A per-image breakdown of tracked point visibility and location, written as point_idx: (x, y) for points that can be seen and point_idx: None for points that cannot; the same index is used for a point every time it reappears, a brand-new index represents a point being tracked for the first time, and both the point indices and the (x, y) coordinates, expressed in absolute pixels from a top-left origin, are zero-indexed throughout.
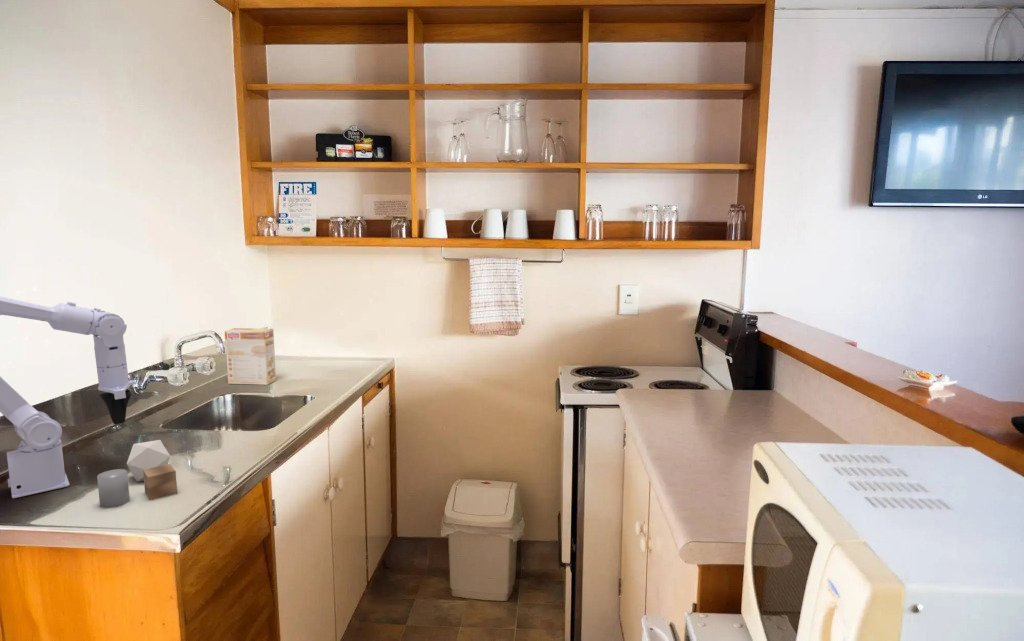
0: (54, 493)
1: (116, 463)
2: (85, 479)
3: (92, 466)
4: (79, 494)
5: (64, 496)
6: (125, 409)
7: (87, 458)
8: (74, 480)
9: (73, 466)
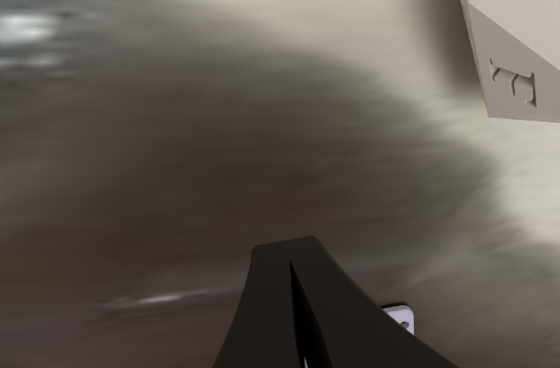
0: (443, 334)
1: (182, 153)
2: (351, 260)
3: (172, 251)
4: (523, 261)
5: (503, 303)
6: (391, 322)
7: (19, 282)
8: None
9: (127, 319)
